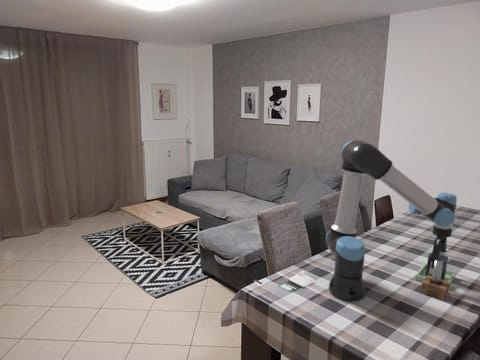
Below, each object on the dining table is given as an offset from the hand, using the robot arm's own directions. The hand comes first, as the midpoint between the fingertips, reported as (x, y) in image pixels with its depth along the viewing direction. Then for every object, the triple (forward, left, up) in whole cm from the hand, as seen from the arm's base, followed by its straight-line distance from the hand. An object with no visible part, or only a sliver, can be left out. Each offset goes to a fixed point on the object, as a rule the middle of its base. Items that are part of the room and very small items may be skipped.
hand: (436, 269), depth 163 cm
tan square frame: (-14, -3, -5) cm, 15 cm away
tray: (0, 0, -5) cm, 5 cm away
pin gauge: (-14, -3, -5) cm, 15 cm away
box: (+1, 0, -4) cm, 4 cm away
